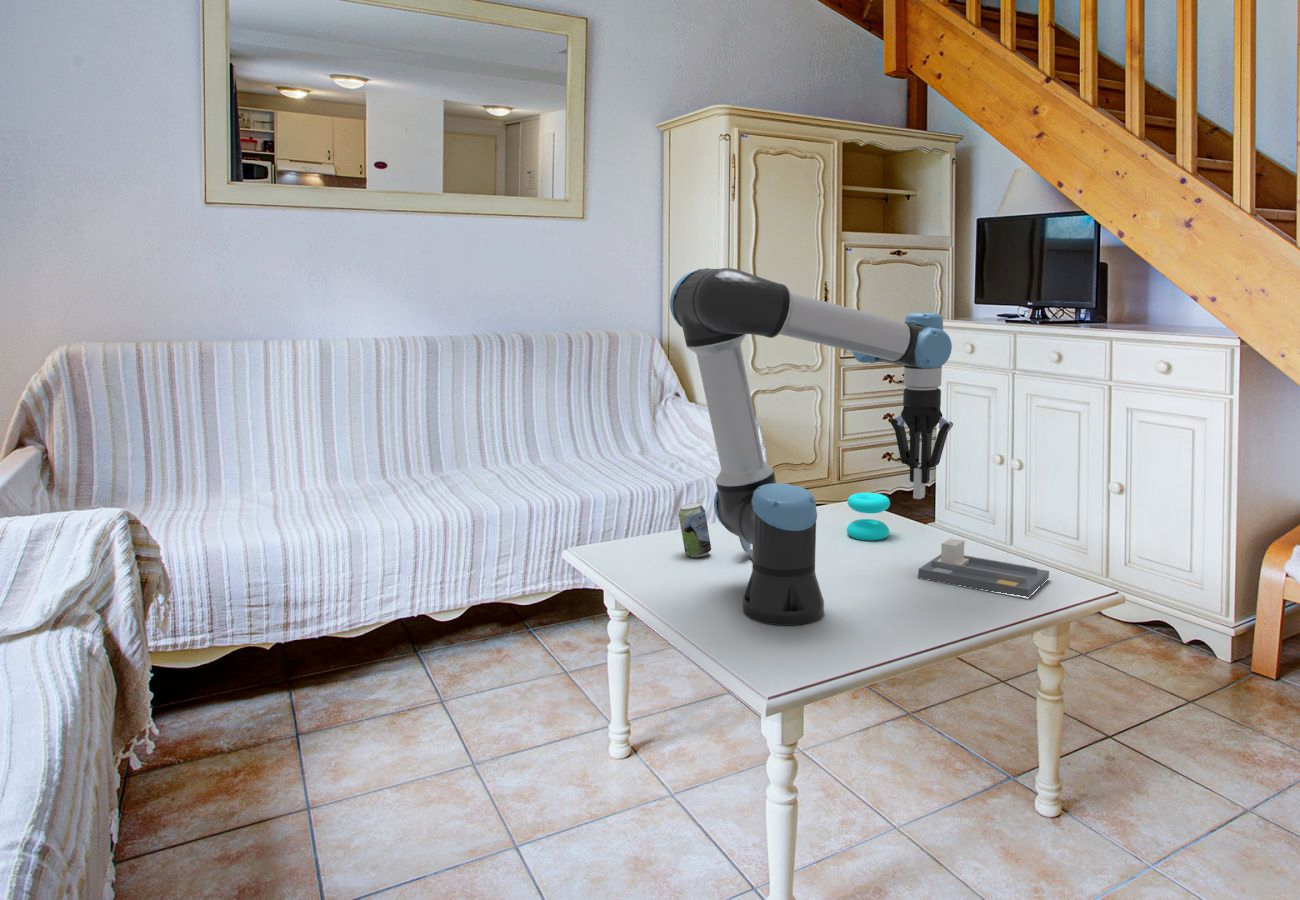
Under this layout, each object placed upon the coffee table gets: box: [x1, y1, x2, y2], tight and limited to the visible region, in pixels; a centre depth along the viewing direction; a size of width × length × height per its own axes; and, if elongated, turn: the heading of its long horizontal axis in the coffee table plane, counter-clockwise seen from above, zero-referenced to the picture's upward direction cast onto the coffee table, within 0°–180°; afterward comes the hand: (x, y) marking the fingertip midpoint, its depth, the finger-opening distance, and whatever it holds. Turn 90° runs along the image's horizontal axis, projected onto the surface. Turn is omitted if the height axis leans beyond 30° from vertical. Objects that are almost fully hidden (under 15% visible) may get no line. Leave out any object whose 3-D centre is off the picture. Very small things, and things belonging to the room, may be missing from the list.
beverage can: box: [678, 502, 712, 558], centre depth 204 cm, size 6×7×12 cm
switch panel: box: [917, 553, 1050, 597], centre depth 185 cm, size 14×22×3 cm, turn 51°
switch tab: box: [937, 537, 969, 566], centre depth 189 cm, size 6×5×5 cm
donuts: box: [846, 492, 891, 542], centre depth 217 cm, size 10×10×10 cm
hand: (919, 497), depth 192 cm, fingers closed
